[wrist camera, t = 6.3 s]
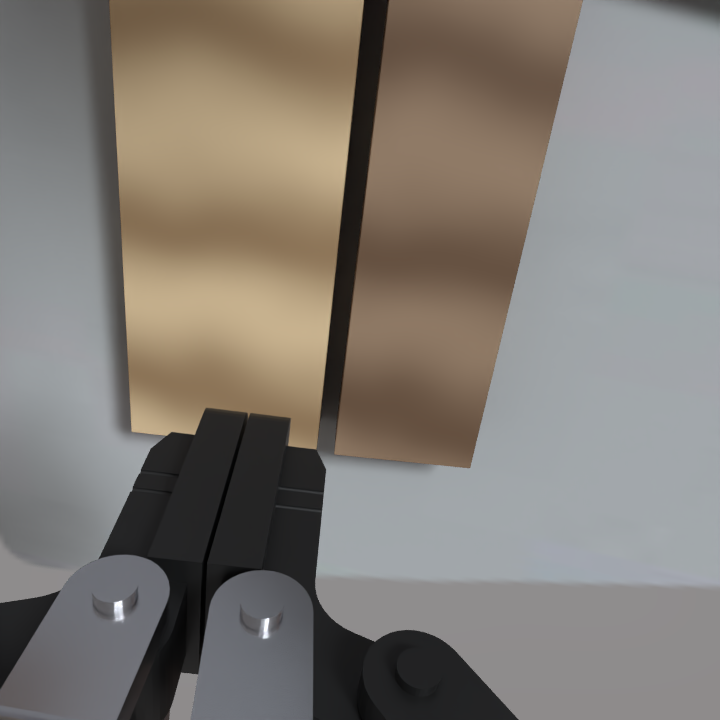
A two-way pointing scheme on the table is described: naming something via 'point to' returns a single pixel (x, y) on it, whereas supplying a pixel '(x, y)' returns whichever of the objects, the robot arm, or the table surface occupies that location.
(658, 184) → the table surface
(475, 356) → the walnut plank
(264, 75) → the oak plank
